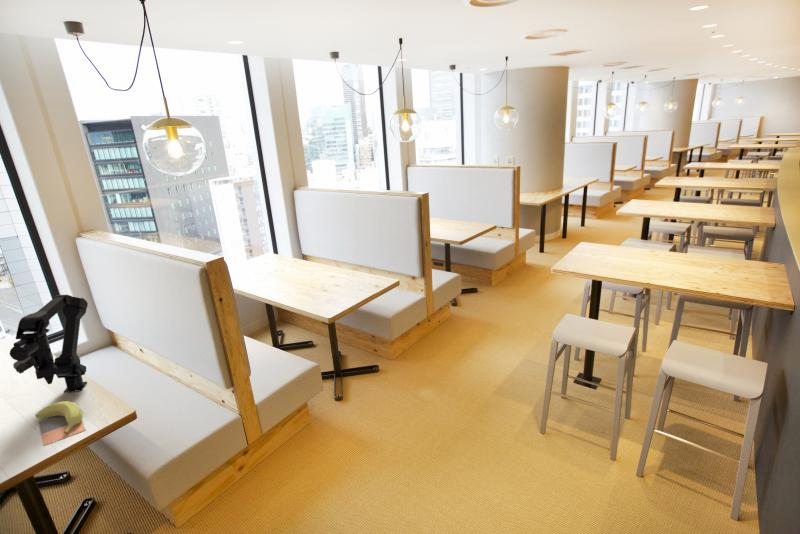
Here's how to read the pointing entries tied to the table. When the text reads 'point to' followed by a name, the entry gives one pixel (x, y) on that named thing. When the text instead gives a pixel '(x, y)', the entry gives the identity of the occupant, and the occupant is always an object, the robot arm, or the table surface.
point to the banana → (63, 413)
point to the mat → (52, 423)
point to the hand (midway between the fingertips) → (50, 383)
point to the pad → (61, 433)
